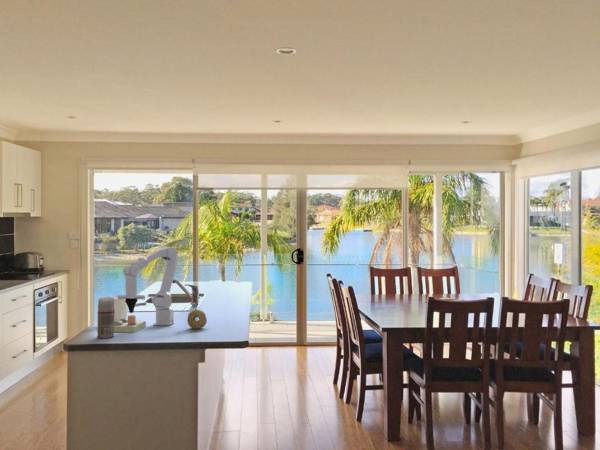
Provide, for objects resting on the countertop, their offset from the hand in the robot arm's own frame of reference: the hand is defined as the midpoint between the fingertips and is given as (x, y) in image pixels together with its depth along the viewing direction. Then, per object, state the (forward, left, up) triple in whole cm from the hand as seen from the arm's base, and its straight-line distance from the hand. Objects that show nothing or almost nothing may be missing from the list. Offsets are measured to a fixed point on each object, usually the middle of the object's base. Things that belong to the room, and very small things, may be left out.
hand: (131, 312), depth 292 cm
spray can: (+6, +18, -10) cm, 21 cm away
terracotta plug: (0, 0, -6) cm, 6 cm away
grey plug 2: (+7, -6, -9) cm, 13 cm away
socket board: (+4, -2, -9) cm, 10 cm away
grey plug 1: (+7, +2, -9) cm, 12 cm away
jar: (+15, -16, -10) cm, 24 cm away
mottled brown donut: (-34, -6, -10) cm, 36 cm away
